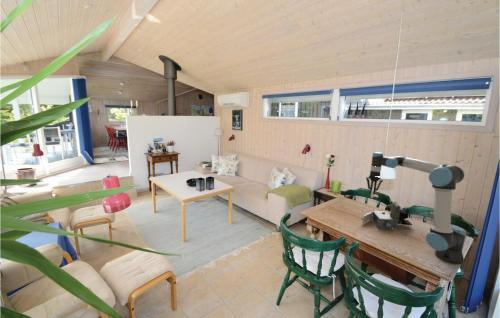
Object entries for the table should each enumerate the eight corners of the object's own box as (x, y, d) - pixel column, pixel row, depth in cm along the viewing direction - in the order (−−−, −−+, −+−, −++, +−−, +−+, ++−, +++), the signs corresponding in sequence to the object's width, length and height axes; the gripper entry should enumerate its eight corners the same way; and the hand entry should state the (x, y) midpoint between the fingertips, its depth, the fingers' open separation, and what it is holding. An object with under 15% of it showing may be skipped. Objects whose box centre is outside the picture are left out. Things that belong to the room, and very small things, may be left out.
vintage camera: (412, 229, 201) (416, 207, 197) (392, 227, 204) (396, 205, 199) (407, 224, 210) (411, 203, 206) (388, 222, 213) (392, 201, 209)
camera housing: (393, 231, 197) (395, 220, 195) (379, 229, 199) (380, 218, 197) (384, 220, 215) (386, 210, 213) (371, 219, 217) (372, 209, 215)
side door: (362, 224, 207) (363, 216, 206) (360, 223, 209) (361, 215, 207) (371, 220, 216) (372, 211, 214) (369, 219, 218) (370, 211, 216)
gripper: (385, 171, 196) (381, 198, 201) (368, 168, 204) (364, 194, 209) (383, 173, 190) (379, 200, 195) (366, 170, 198) (362, 196, 203)
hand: (371, 197), depth 202 cm, fingers closed
